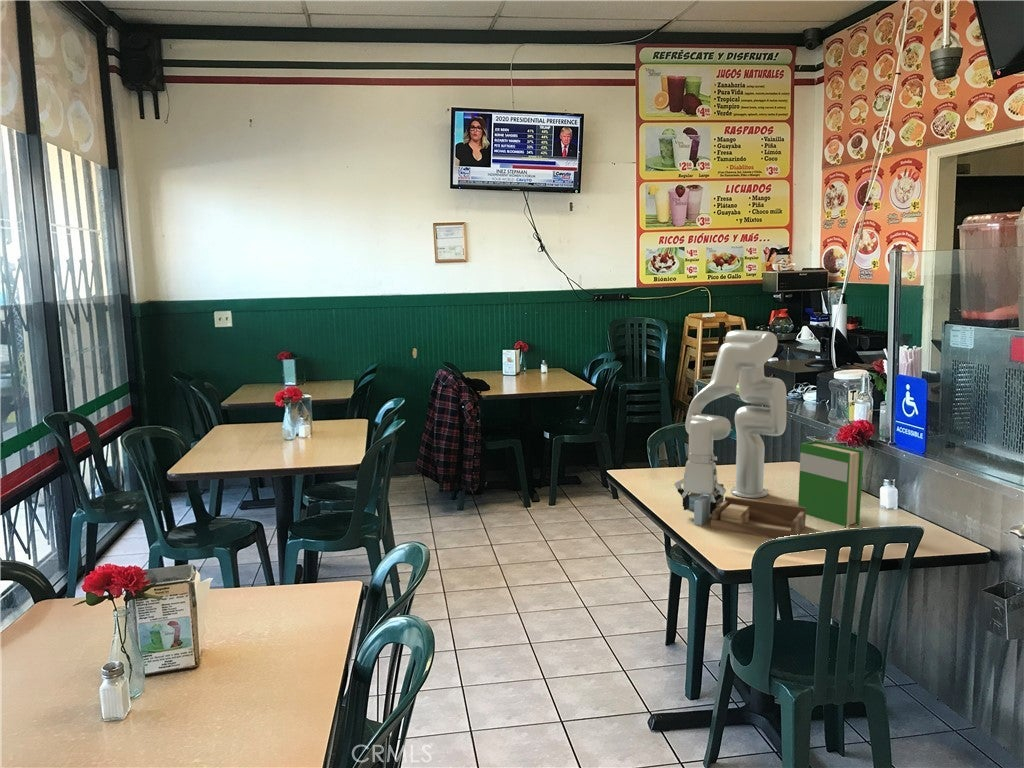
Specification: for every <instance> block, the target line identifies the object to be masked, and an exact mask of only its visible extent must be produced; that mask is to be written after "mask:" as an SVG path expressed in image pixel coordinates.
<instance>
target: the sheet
mask: <svg viewBox="0 0 1024 768" xmlns="http://www.w3.org/2000/svg"><path fill="white" fill-rule="evenodd" d="M710 502H712V500H711V499H710V497H709V495H704V494H703V495H702V496H701V497H699V498H698V499H697V500H696V501H694V510H693V525H695V526H703V525H704V524H705V523H707V522H708V520H709V519H710V518H712V514H710Z"/></svg>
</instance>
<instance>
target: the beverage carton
mask: <svg viewBox="0 0 1024 768" xmlns="http://www.w3.org/2000/svg"><path fill="white" fill-rule="evenodd" d="M719 484H720V485H721V486H722V487H724V483H719ZM724 488H725V487H724ZM715 493H716V495H718V494H719V493H720V491H719V490H718V489H717V491H716V492H715ZM702 495H703V494H697V493H691V492H690V493H689V494H688V496H689V508H688V509H687V510H686V511H694V501H696V500H697V499H698V498H699V497H701V496H702ZM724 495H725V494H724ZM724 495H723V496H722V497H721V498H720V499H719V500H717V505H719V504H720V503H722V502H723V500H724V501H725V496H724Z"/></svg>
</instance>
